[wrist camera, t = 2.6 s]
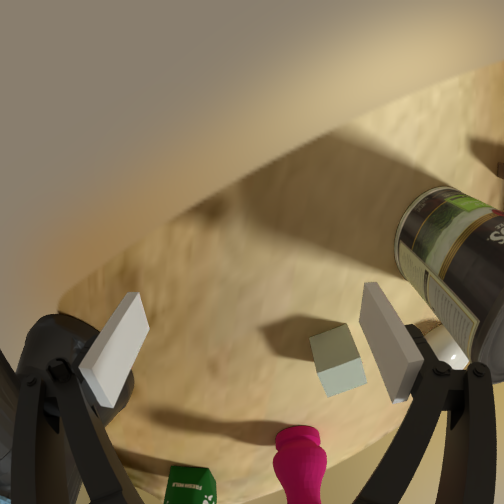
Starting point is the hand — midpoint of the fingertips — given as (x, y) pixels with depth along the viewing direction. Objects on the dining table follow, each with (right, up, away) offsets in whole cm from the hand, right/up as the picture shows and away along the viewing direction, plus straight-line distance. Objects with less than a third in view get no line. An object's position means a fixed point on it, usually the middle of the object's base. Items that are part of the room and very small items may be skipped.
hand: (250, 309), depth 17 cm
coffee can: (+18, +4, +8) cm, 20 cm away
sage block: (+8, -6, +12) cm, 16 cm away
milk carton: (-11, -38, +26) cm, 47 cm away
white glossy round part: (+23, -8, +13) cm, 27 cm away
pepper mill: (+7, -23, +20) cm, 31 cm away
